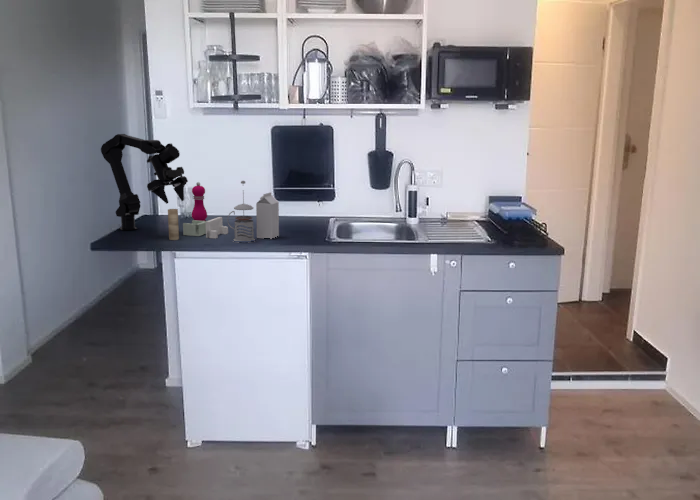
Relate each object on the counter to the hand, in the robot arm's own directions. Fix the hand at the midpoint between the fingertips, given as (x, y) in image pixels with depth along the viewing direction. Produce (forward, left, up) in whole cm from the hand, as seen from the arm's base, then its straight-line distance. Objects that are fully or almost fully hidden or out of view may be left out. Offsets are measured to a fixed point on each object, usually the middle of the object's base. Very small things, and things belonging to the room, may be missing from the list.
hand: (175, 201), depth 269 cm
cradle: (-1, +9, -15) cm, 17 cm away
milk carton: (+19, +34, -15) cm, 42 cm away
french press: (+20, +22, -15) cm, 33 cm away
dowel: (+6, -3, -15) cm, 16 cm away
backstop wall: (+6, +16, -15) cm, 22 cm away
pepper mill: (-23, +17, -15) cm, 32 cm away
